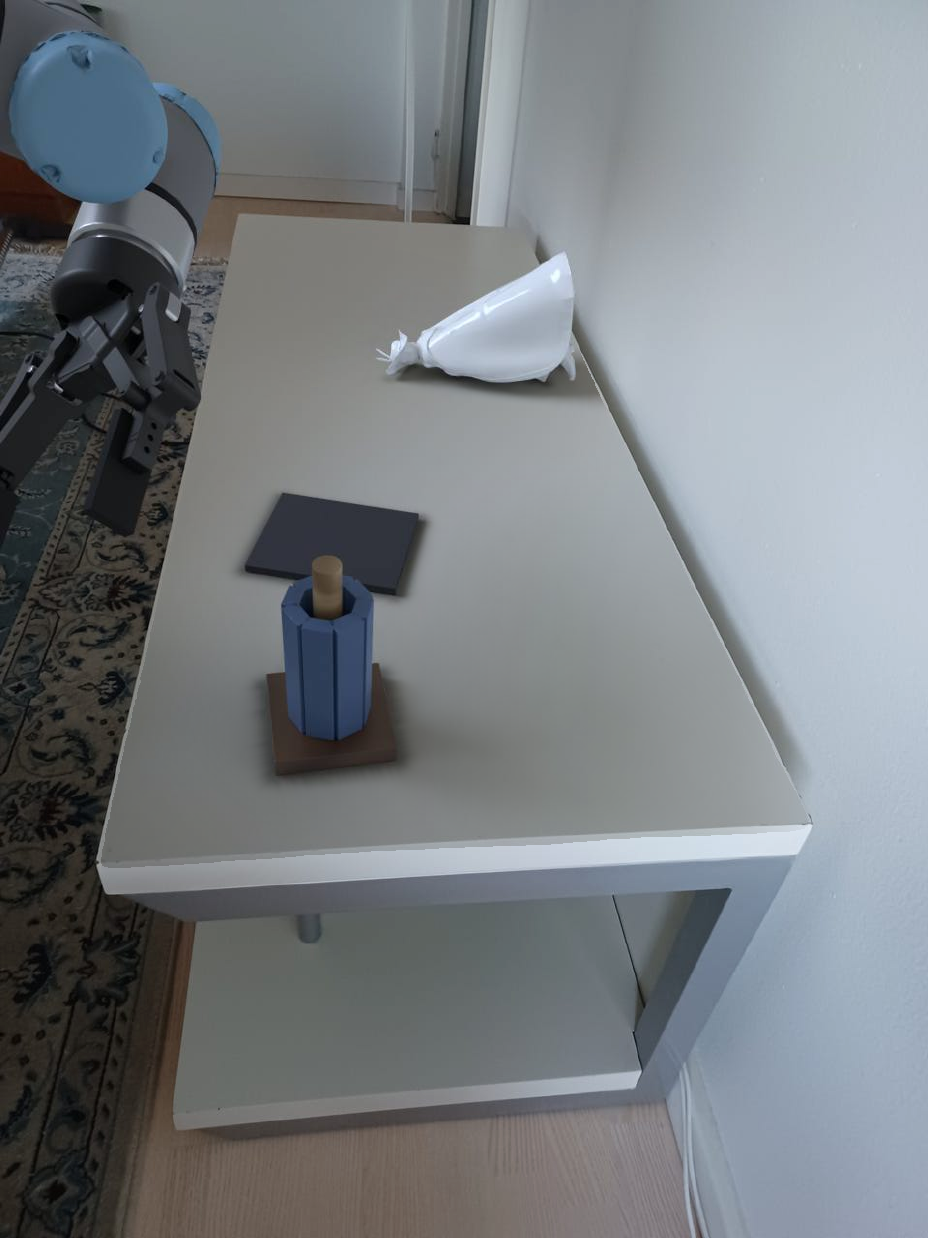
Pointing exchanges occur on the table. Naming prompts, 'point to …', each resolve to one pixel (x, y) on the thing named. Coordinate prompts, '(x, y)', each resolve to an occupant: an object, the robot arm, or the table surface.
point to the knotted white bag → (503, 331)
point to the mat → (335, 540)
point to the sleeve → (328, 661)
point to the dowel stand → (353, 749)
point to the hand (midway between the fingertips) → (30, 553)
